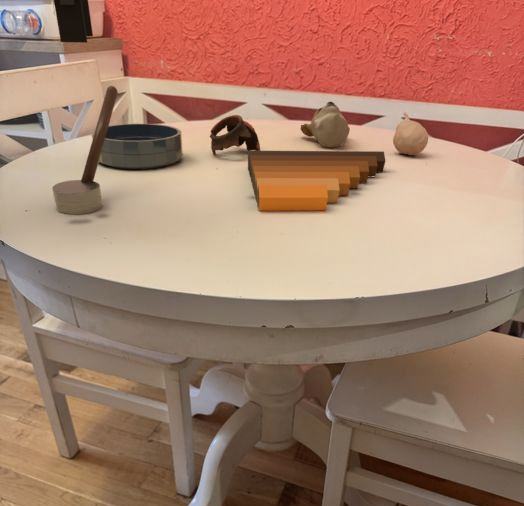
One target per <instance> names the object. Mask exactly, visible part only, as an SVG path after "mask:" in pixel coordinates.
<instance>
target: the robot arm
mask: <svg viewBox="0 0 524 506" xmlns="http://www.w3.org/2000/svg"><path fill="white" fill-rule="evenodd" d="M53 4H54V10H55V11H54V12H55V15H56V23H57V27H58V34H59V39H60V43H81V44H82V43H86V44H87V43H88V37H94V33H93V26H92V19H91V12H90V5H89V0H53Z"/></svg>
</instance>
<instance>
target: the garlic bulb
mask: <svg viewBox="0 0 524 506" xmlns="http://www.w3.org/2000/svg"><path fill="white" fill-rule="evenodd" d="M402 114H403V116H404V120H402V121H400V122H399V123H398V124H397V125H396V127H395V132H394V135H393V138H392V143H393V146H394V149H395V150H396V151H397V152H398V153H400V154H403V153H404V154H403V155H406V154H408V155H407V156H412V155H414V156H417V155H419V154H421V153H422V152H423V151H424V150H425V149H426V147H427V145H428V143H429V134H428V131H427V130H426V128H425V127H424V126H423V125H422V124H421V123H420V122H418V121H416V120H411V119H410V117H409V114H407V112H406V111H403V113H402Z"/></svg>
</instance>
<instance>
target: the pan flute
mask: <svg viewBox="0 0 524 506" xmlns="http://www.w3.org/2000/svg"><path fill="white" fill-rule="evenodd" d="M385 165H386V157H385V151H381V150H380V151H379V150H377V151H376V150H375V151H370V150H369V151H366V150H365V151H363V150H360V151H359V150H357V151H356V150H353V151H352V150H351V151H350V150H349V151H348V150H346V151H345V150H260V151H255V150H250V151H247V170H248V172H249V173H248V175H249V177H250V181H251V182H250V183H251V185H252V189H253V194H254V196H255V201H256V204H257V205H256V206H257V210H258V211H326V210H327V206H328V203H329V204H330V203H331V204H333V203H335V204H337V203H338V200H339V195H348V196H349V192H350V189H349V188H357V189H358V188H359V184H360V183H359V182H366V183H367V182H368V178H369V177H368V176H375V177H376V174H377V172H376V171H383V172H384V168H385Z"/></svg>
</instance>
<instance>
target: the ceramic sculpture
mask: <svg viewBox="0 0 524 506" xmlns="http://www.w3.org/2000/svg"><path fill="white" fill-rule="evenodd" d="M350 129H351V128H350V127H349V124H348V121H347V119H345V116H343V114H342V112H341V110H340V108H339V106H338V105H336V104H335V103H334V102H333V101H328V102H326V104H325V105H324V106H322V107H319V108H318V109H317V110H316V111H315V112H314V114H313V117H312V118H311V121H310V123H303V124H301V125H300V131H301V133H302V134H303V135H304V136H306V137H309V138H311V137H314V139H316V140H317V142H318V143H319V145H320V146H321V147H324V148H328V149H333V148H337V147H341V146H342V145H344V144H345V142H346V141H347V139H348V137H349V134H350Z"/></svg>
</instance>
